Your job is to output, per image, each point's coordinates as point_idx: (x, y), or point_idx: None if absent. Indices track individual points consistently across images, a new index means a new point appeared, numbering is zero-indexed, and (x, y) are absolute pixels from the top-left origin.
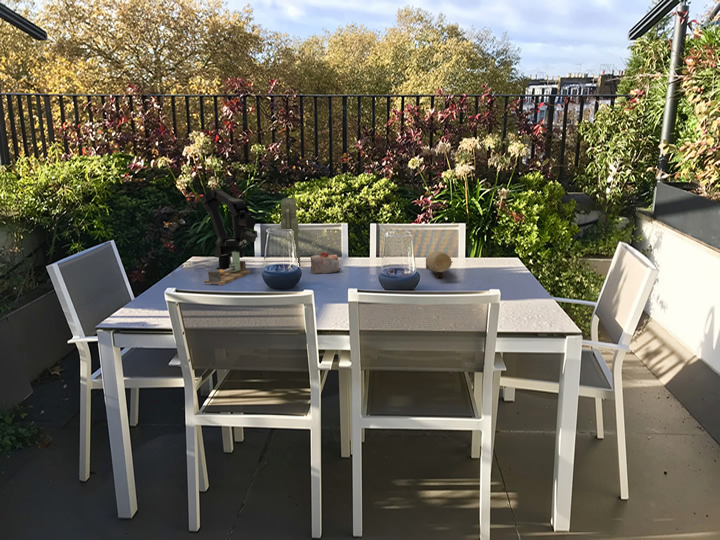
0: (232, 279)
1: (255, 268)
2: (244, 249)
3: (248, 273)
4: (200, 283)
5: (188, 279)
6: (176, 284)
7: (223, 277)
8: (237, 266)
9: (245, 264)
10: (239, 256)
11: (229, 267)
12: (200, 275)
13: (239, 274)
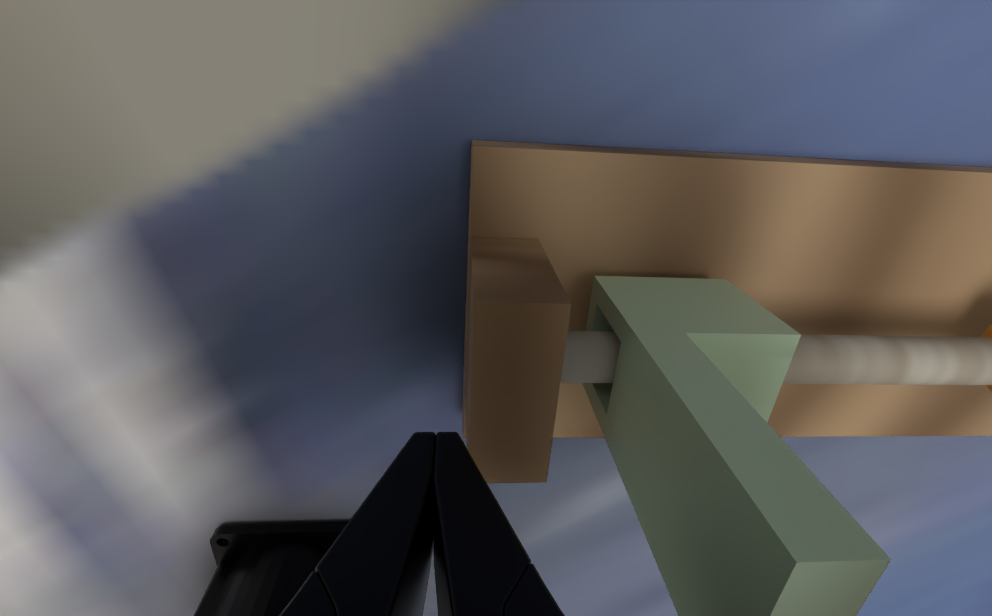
0: (989, 170)
1: (140, 228)
2: (299, 613)
3: (535, 144)
4: (977, 456)
5: None
6: (962, 591)
7: (938, 318)
8: (713, 312)
9: (475, 271)
10: (703, 433)
11: (312, 535)
12: (655, 597)
13: (778, 184)
